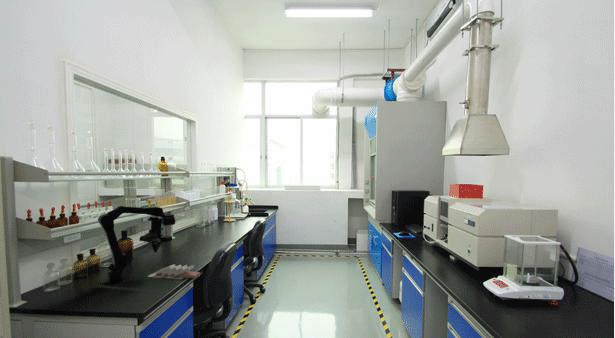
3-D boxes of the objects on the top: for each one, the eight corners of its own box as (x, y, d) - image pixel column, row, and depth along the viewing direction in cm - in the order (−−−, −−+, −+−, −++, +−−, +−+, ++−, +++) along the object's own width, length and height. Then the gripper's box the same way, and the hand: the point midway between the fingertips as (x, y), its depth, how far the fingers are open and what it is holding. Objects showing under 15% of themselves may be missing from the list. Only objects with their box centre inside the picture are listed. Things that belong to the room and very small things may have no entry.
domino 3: (167, 273, 149) (181, 267, 147) (173, 270, 153) (186, 264, 152) (168, 275, 148) (182, 270, 147) (174, 272, 153) (187, 267, 152)
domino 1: (155, 272, 150) (169, 266, 149) (161, 269, 155) (174, 263, 154) (155, 274, 150) (170, 269, 148) (161, 271, 155) (175, 266, 153)
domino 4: (173, 273, 148) (188, 267, 147) (179, 270, 153) (193, 264, 151) (174, 276, 148) (188, 270, 146) (180, 273, 153) (194, 267, 151)
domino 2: (161, 272, 149) (175, 267, 148) (166, 269, 154) (180, 264, 153) (161, 275, 149) (176, 269, 148) (167, 272, 154) (181, 266, 153)
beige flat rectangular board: (146, 278, 147) (147, 276, 147) (160, 271, 158) (160, 269, 158) (180, 281, 144) (180, 279, 144) (192, 274, 155) (192, 272, 155)
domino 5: (179, 274, 147) (195, 275, 146) (185, 271, 152) (200, 272, 151) (179, 277, 147) (195, 278, 146) (184, 273, 152) (200, 275, 151)
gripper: (132, 229, 149) (131, 255, 149) (160, 230, 146) (159, 257, 146) (147, 225, 160) (146, 250, 160) (173, 226, 157) (172, 251, 157)
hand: (155, 252), depth 155 cm, fingers closed
